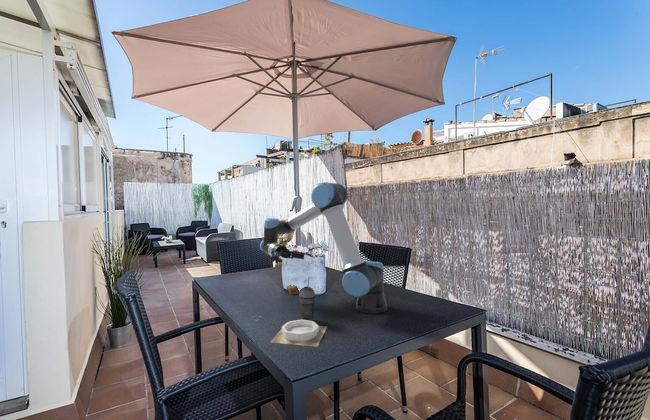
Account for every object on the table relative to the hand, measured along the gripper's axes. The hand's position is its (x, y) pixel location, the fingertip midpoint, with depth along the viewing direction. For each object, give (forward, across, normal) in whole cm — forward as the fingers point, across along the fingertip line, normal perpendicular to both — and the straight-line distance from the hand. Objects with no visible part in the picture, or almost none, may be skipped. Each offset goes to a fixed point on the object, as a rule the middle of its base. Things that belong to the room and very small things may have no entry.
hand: (299, 261), depth 141 cm
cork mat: (+20, +10, -24) cm, 32 cm away
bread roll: (-32, -19, -28) cm, 47 cm away
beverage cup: (+10, 0, -24) cm, 27 cm away
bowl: (+20, +10, -23) cm, 32 cm away
